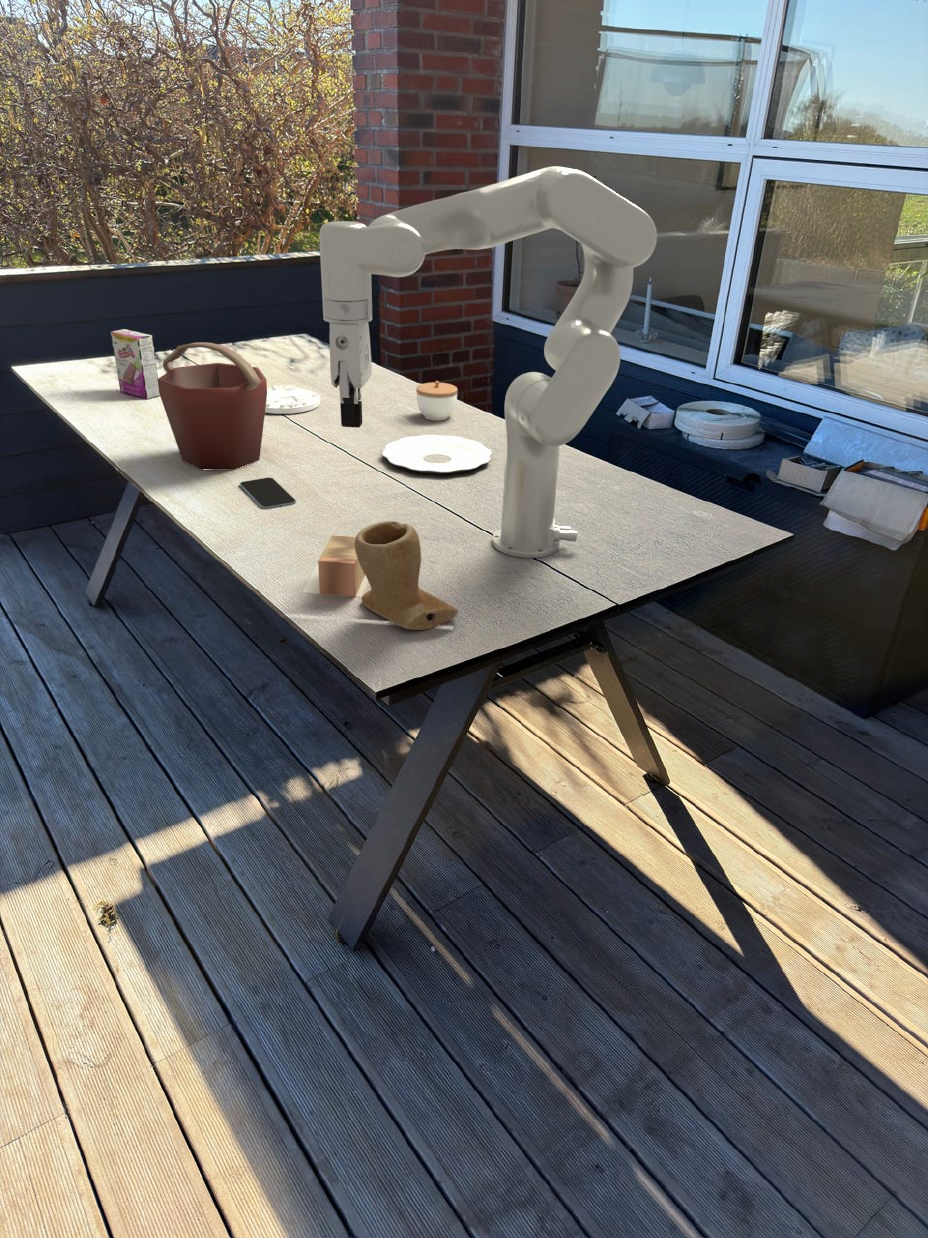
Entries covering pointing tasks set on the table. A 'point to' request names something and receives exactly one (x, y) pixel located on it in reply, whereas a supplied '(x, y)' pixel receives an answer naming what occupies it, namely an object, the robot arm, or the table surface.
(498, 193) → the robot arm
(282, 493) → the smartphone
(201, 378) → the bucket
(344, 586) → the oak block
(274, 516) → the table surface
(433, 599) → the clay platform pipe
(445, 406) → the lidded jar
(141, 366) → the candy bar box
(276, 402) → the white round plaque
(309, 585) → the mat
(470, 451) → the plate
